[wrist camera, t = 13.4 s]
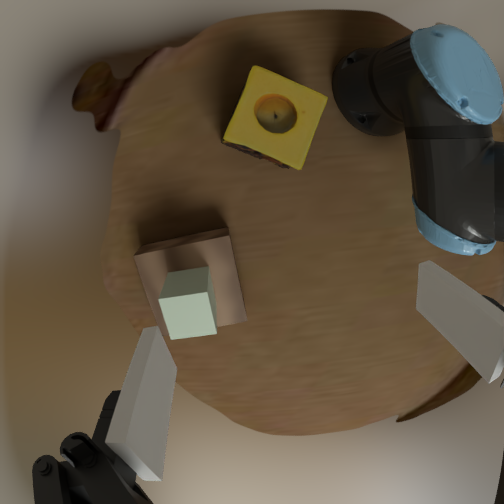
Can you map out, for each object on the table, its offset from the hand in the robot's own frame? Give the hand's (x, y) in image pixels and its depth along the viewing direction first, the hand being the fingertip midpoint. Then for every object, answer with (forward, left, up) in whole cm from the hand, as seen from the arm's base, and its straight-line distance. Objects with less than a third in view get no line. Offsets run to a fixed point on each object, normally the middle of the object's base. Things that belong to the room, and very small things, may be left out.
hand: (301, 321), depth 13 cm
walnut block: (+10, +10, -33) cm, 35 cm away
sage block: (+10, +10, -28) cm, 31 cm away
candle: (-5, -11, -32) cm, 34 cm away
